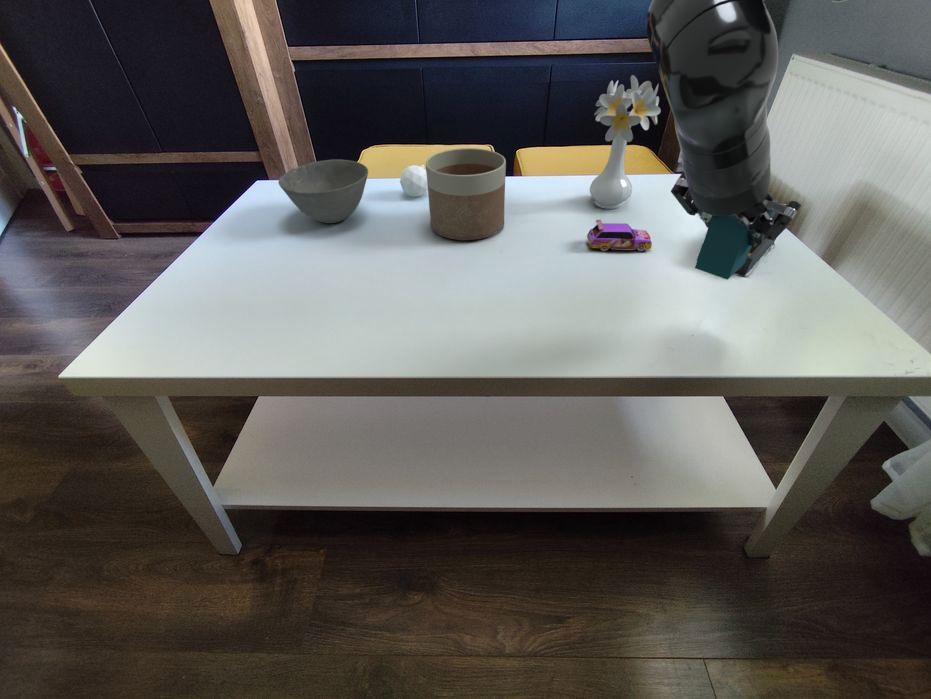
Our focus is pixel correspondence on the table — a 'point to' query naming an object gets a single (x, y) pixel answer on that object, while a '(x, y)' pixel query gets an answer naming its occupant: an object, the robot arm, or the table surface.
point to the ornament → (414, 180)
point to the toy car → (618, 237)
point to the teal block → (723, 248)
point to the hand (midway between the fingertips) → (736, 232)
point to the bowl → (326, 188)
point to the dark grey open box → (753, 256)
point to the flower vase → (621, 137)
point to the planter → (466, 193)
